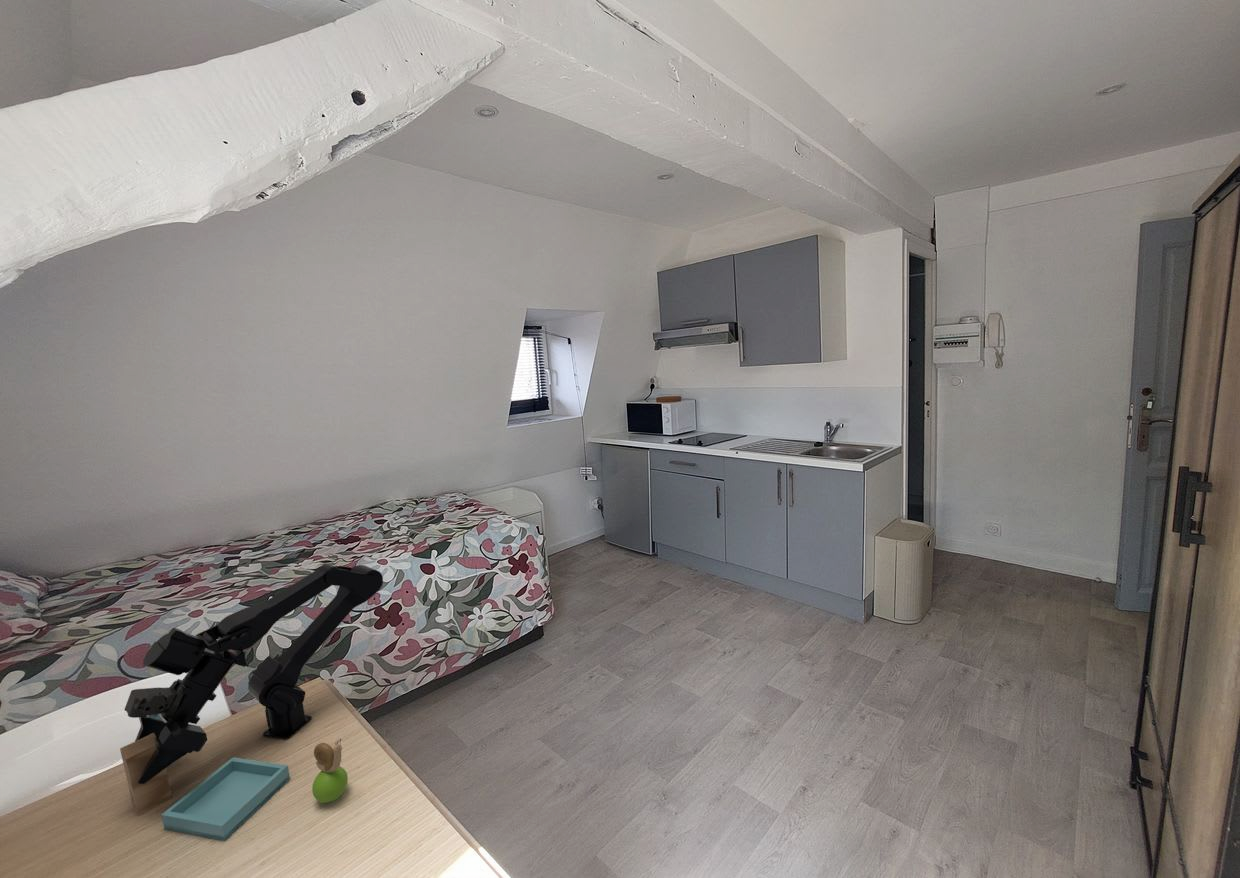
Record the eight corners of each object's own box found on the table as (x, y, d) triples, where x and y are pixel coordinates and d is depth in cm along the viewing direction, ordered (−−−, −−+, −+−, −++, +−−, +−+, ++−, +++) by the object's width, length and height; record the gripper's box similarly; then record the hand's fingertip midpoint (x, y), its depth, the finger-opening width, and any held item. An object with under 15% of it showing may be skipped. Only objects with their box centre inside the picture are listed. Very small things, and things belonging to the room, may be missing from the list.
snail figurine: (335, 815, 87) (325, 751, 85) (307, 806, 89) (296, 744, 87) (361, 789, 92) (351, 729, 90) (333, 781, 94) (324, 722, 92)
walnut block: (165, 786, 95) (153, 732, 93) (172, 797, 92) (160, 742, 91) (132, 803, 92) (119, 748, 90) (138, 816, 89) (125, 759, 87)
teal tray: (290, 778, 95) (287, 765, 95) (224, 841, 83) (221, 826, 83) (235, 770, 98) (232, 757, 98) (164, 829, 86) (161, 814, 86)
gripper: (143, 653, 97) (71, 742, 90) (170, 686, 86) (92, 791, 79) (202, 670, 105) (140, 754, 98) (234, 703, 93) (167, 800, 86)
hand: (134, 772), depth 90 cm, fingers open, 8 cm apart
